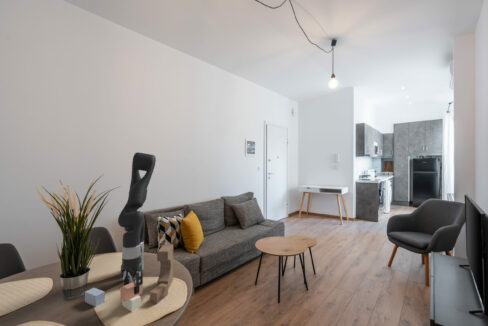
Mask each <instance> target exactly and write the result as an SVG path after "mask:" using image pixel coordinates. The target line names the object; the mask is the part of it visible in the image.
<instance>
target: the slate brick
mask: <svg viewBox="0 0 488 326" xmlns="http://www.w3.org/2000/svg"><path fill="white" fill-rule="evenodd" d="M105 292H106V291H105V290H102V289H99V288H96V287H92V288H90V289H88V290H86V291H84V303H86V304H88V305H91V306H93V307H95V306H97V307H98V306H101V304H103V303H105V299H106V297H105V295H106V294H105Z"/></svg>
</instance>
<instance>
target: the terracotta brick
mask: <svg viewBox="0 0 488 326" xmlns="http://www.w3.org/2000/svg"><path fill="white" fill-rule="evenodd" d="M135 282H136V281H135ZM119 293H120V295H119V297H120V298H119V299H120V300H121V301H122V300H123V301H124V302H126V301H128V300H130V299H132V298H134V297H136V296H138V295H139V296H140V295H142V294H143V284H142V285H140V286H139V293H138V294H136V295H135V294H134V284H133V282H132V283H129V284H127V285H125V286H124V285H123V286H121V287H120V292H119Z"/></svg>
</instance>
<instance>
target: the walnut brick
mask: <svg viewBox="0 0 488 326" xmlns="http://www.w3.org/2000/svg"><path fill="white" fill-rule="evenodd" d="M168 295H169V289H168V285H167V284H162V283H161V284H160V285H158V286H157V285H156V287H154V288H153V289H152V290H150V292H149V303H151V304H154V305H155V304H156V305H158V304H159V303H160V302H161V301H162V300H164V299H165V298H166V297H167V296H168Z"/></svg>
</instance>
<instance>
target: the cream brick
mask: <svg viewBox="0 0 488 326" xmlns="http://www.w3.org/2000/svg"><path fill="white" fill-rule="evenodd" d="M141 300H142V299H141V296H140V295H138V296H136V297H134V298H132V299H130V300H128V301H126V302H124V301H123V300H122V299H121V301H122V303H121V304H122V305H121V306H122V307H124V308H125V309H126V310H128V311H130V312H131V313H133V312H135V311H137V310H138V309H140V308H141V305H142V303H141Z"/></svg>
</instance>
